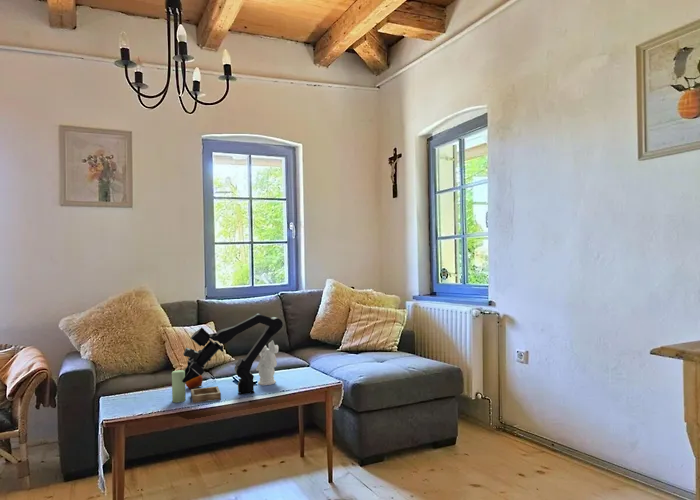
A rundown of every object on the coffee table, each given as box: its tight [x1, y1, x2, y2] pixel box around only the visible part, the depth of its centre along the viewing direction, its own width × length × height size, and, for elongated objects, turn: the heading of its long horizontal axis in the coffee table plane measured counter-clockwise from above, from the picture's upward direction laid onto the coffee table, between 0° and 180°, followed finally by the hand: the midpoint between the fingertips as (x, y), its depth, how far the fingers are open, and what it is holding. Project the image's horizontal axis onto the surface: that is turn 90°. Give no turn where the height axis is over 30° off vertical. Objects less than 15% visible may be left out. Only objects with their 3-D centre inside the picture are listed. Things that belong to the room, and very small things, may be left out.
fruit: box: [185, 375, 204, 390], centre depth 251 cm, size 8×8×8 cm
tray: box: [190, 386, 222, 404], centre depth 233 cm, size 12×12×3 cm
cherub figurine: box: [255, 339, 280, 386], centre depth 257 cm, size 12×12×22 cm
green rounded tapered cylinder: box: [171, 369, 187, 404], centre depth 229 cm, size 6×6×13 cm
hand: (182, 379), depth 230 cm, fingers open, 9 cm apart
